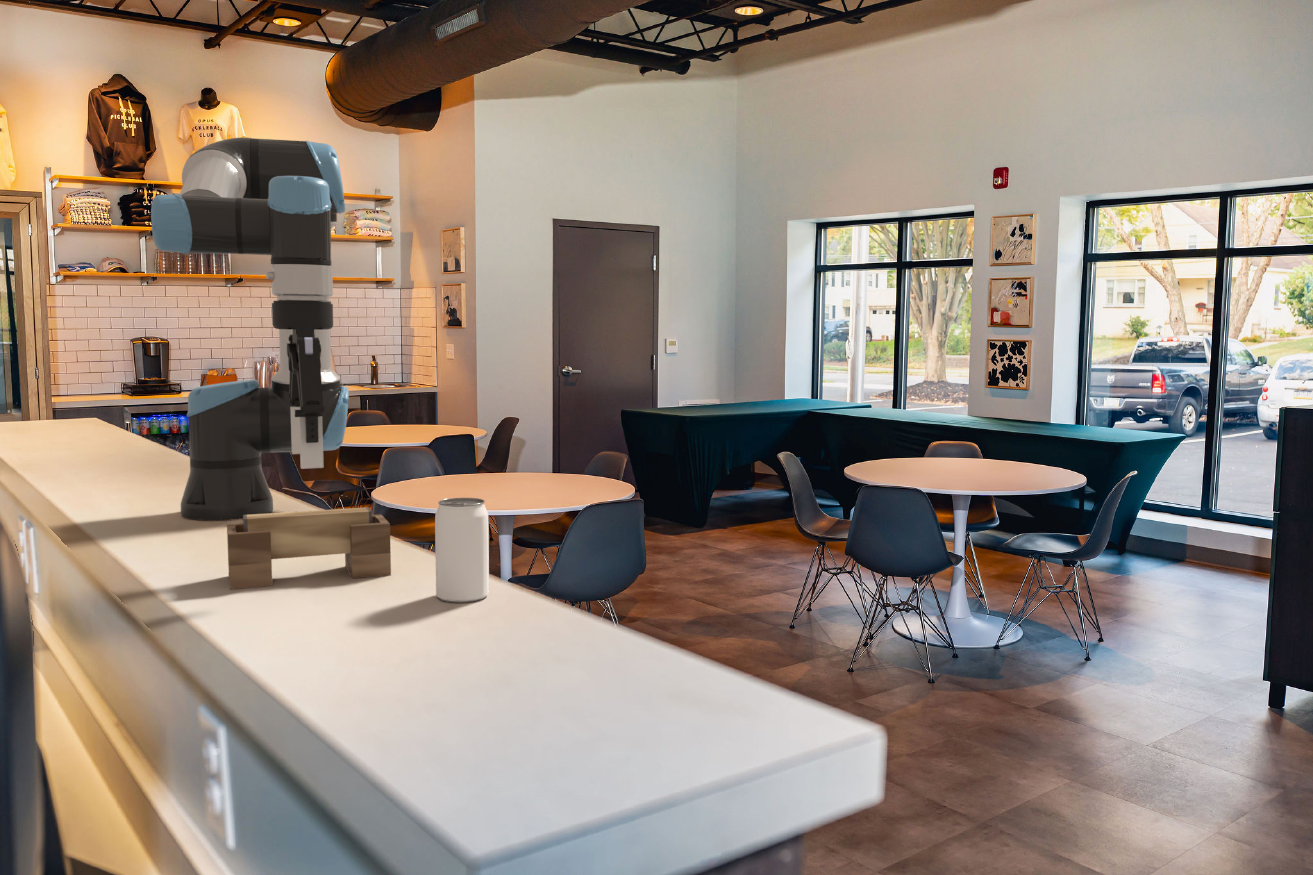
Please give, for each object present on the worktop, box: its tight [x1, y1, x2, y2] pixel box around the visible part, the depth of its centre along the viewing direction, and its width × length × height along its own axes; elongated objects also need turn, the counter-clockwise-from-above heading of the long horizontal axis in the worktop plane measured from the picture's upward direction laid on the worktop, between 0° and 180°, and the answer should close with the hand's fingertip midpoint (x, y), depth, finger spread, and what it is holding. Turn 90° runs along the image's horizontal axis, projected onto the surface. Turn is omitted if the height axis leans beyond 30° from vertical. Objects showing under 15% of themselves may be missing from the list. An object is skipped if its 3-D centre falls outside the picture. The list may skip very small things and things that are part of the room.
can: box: [434, 497, 490, 604], centre depth 126 cm, size 6×6×12 cm
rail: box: [242, 506, 373, 560], centre depth 136 cm, size 3×16×6 cm, turn 114°
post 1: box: [226, 522, 273, 590], centre depth 134 cm, size 7×5×7 cm
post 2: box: [344, 513, 392, 579], centre depth 140 cm, size 7×5×7 cm
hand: (307, 460), depth 136 cm, fingers open, 13 cm apart
